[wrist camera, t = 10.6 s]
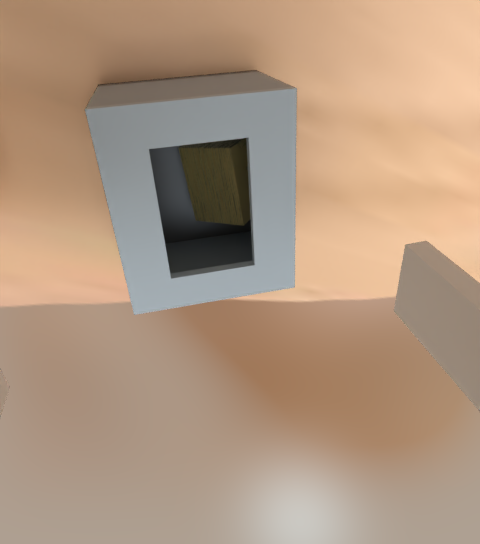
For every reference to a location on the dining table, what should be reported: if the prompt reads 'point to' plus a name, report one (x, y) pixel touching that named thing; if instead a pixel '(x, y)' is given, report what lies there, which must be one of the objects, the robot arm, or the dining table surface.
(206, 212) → the rectangular block
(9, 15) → the dining table surface
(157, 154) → the grey box with opening
